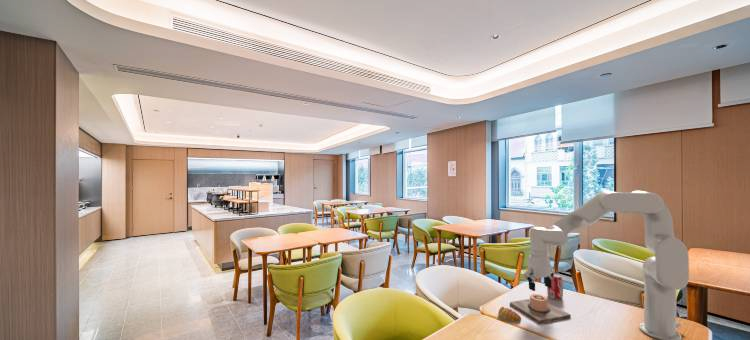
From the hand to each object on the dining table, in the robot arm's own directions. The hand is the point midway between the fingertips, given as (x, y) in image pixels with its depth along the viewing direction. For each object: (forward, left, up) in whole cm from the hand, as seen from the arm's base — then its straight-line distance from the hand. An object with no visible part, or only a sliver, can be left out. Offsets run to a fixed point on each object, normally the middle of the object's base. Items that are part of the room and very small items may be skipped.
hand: (540, 288), depth 138 cm
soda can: (-20, -9, -11) cm, 25 cm away
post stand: (0, 0, -11) cm, 11 cm away
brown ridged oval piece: (+18, 0, -12) cm, 22 cm away
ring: (0, 0, -9) cm, 9 cm away
